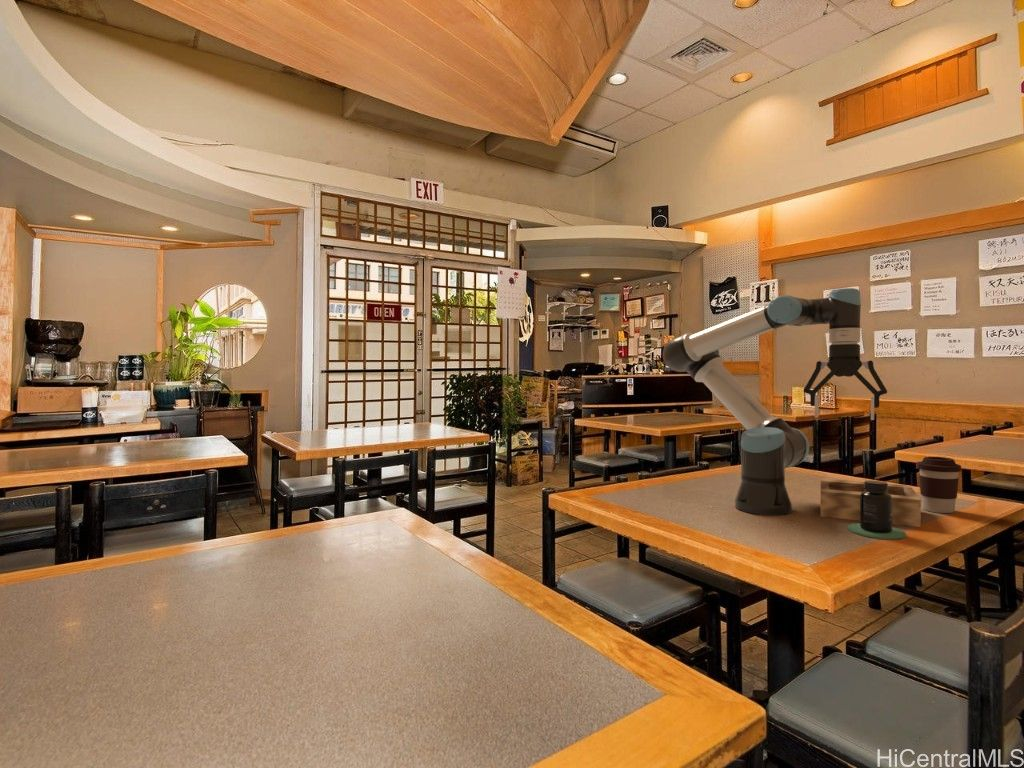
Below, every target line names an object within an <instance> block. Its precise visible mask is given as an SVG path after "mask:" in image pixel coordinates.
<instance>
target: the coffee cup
mask: <svg viewBox="0 0 1024 768" xmlns="http://www.w3.org/2000/svg"><path fill="white" fill-rule="evenodd" d="M916 468H917V469H919V475H918V476H919V478H918V479H919V490H920V491H919V492H920V495H921V507H922V509H923V510H925V511H928V512H931V513H937V514H952V513H955V511H956V501H957V498H958V490H959V480H960V479H959V472H962V465H960V464H958V463H956V461H955V459H954V458H949V457H943V456H924V457H923V458H922V460H920V461H917V462H916Z"/></svg>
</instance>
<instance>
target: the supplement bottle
mask: <svg viewBox="0 0 1024 768" xmlns="http://www.w3.org/2000/svg"><path fill="white" fill-rule="evenodd" d="M864 482H865V486H864V489H866V491H864V492H862V493H861V494H860V521H859V523H860V527H861V528H862V529H863V530H866V531H870V532H876V533H890V532H891V531H892V527H894V526H893V525H894V524H893V500H892V496H891V495H890V494H888V493H887V491H888V484H889V483H888V482H886V481H883V480H882V481H880V480H865V481H864Z"/></svg>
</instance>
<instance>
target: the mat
mask: <svg viewBox="0 0 1024 768" xmlns="http://www.w3.org/2000/svg"><path fill="white" fill-rule="evenodd" d="M847 530H848V531H849V532H850V533H852V534H855V535H857V536H860V537H861V536H862V537H865V538H870V539H877V540H886V541H888V540H891V541H892V540H893V541H896V540H897V541H899V540H903V539H906V537H907V534H906V531H904V530H903V529H900V528H897V527H894V526H892V531H891V532H890V533H876V532H870V531H866V530H863V529H862V528H861V527H860V522H858V523H851V524H849V525H847Z"/></svg>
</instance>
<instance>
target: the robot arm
mask: <svg viewBox="0 0 1024 768" xmlns="http://www.w3.org/2000/svg"><path fill="white" fill-rule="evenodd" d="M860 292H861V291H860V290H859V289H857V288H854V287H849V288H847V287H846V288H844V287H843V288H837V289H832V290H831V291H830V292H829V294H828V297H823V298H813V299H812V298H811V299H808V298H807V299H806V298H800V297H797V296H792V295H779V296H776V297H774V298H773V299H771V301H770V302H769V303H768V304H765V305H763V306H761V307H758V308H755V309H752V310H750V311H748V312H745V313H743V314H741V315H737V316H736V317H732V318H730V319H727V320H726V321H723V322H720V323H717V324H715V325H713V326H711V327H708V328H705V329H703V330H701V331H698V332H696V333H692V332H688V333H684V334H683V335H680V336H678V337H674V338H672V339H671V340H669V341H668V342H667V343H666V344H665V345H664V348H663V351H662V359H663V362H664V364H665V365H666V366H667V367H668V368H669V369H670V370H672V371H674V372H678V373H679V372H680V373H684V372H685V373H687V374H688V375H689V376H690V377H691V378H692V379H693V380H694V381H695V382H696V383H702V384H704V386H705V387H707V388H708V390H709V391H710V392H711V393H712V394H713V395H714V396H715V397H716V399H718V400H719V402H720V403H721V404H723V405H724V408H726V409H727V410H728V411H729V412H730V413H731V414H732V416H734V418H735V419H736V420H737V421H738V422H739V423H740V424H741V426H743V427H744V428H745V429H746V430H744V431H743V432H742V434H741V440H740V460H741V462H740V466H741V467H740V471H741V473H740V474H741V477H740V478H741V482H740V485H739V487H738V489H737V493H736V496H735V500H734V507H735V508H736V509H737V510H739V511H742V512H746V513H749V514H755V515H763V516H782V515H788V514H790V513H792V512H793V511H792V509H793V508H792V507H793V506H792V501H791V498H790V495H789V492H788V490H787V486H786V480H785V479H786V468H793V467H796V466H798V465H800V464H801V463H803V462H804V461H805V460H806V459H807V457H808V456H809V452H810V442H809V439H808V437H807V435H806V434H804V433H803V431H801V430H799V429H798V428H795V427H791V426H790V425H789V424H788V423H787V422H786V421H784V419H783V418H782V417H779V416H777V417H775V416H773V415H772V414H771V413H770V412H769V411H768V410H767V409H766V408H765V407H764V406H763V405H762V404H761V403H760V402H759V401H758V400H757V399H756V397H754V396H753V395H752V394H751V393H750V391H748V390H747V389H746V388H745V387H744V386H743V384H742V383H741V382H740V381H738V380H737V378H735V377H734V375H733V374H732V373H731V372H730V371H729V370H728V369H727V368H726V367H725V366H724V359H723V358H722V357H721V355H720V350H722V349H725V348H728V347H730V346H733V345H736V344H739V343H741V342H743V341H746V340H750V339H751V338H755V337H758V336H760V335H763V334H766V333H768V332H771V331H773V330H776V329H778V328H782V327H785V326H790V327H803V326H814V325H815V326H816V325H828V324H829V327H828V335H829V336H828V338H829V339H828V342H829V343H830V344H829V346H828V350H829V351H828V361H820V360H818V361H816V363H815V364H816V365H815V369H814V371H813V373H812V375H811V376H810V378H809V379H808V382H807V383H806V385H805V387H804V388H803V393H805V394H808V395H809V396H810V397H809V399H810V404H809V405H810V406H811V407H814V419H818V418H819V414H820V413H819V412H820V411H819V409H820V408H819V407H820V403H819V402H820V401H819V399H820V397H819V394H817V393H818V392H819V391H820V390H821V389H822V388H823V387H824V386H825V385H826V384H827V383H828V382H829V381H830V380H831V379H832V378H833V377H838V378H839V377H841V378H842V377H853V376H855V377H856V378H857V380H858V381H860V382H861V383H862V384H863V385H864V386H865V387H866V389H867V390H868V391H870V392H871V393H872V395H870V420H871V421H874V420H875V408H876V409H879V407H880V397H881V396H883V395H887V393H888V390H887V389H886V388H887V387H885V385H884V383H883V381H882V379H881V378H880V376H879V375H878V373H877V370H876V369H875V367H874V361H873V360H868V361H861V345H860V344H859V342H861V306H862V304H861V293H860ZM862 366H863V367H864V368H865V369H868V370H869V373H870V375H871V377H872V378H873V380H874V381H875V383H876V385H877V386H878V388H879V390H877V389H876V388H875V387H874V385H872V384H871V383H870V382H869V381H868V380H867V379H866V377H865V376H863V375H862V374H861V373H860V371H859V369H861V367H862ZM825 367H827V368H828V369H829V370H830V372H829V373H828V374H827V375H826V376H825V377H824V378H823V379H822V380H821V381H819V383H818V384H817V385H816V386H815V387H814V388H813V389H812V387H813V386H814V383H815V381H816V379H817V378H818V376H819V374H820V373H821V371H822V370H823V369H825Z"/></svg>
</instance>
